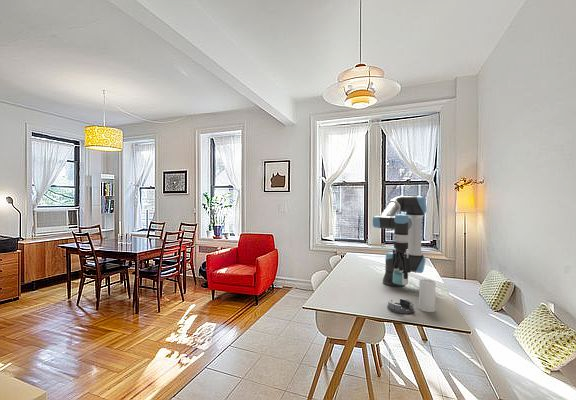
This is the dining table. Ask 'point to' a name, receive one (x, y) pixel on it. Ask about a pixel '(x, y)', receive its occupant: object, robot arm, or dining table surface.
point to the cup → (427, 295)
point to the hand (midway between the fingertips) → (400, 282)
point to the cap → (398, 277)
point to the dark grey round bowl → (401, 306)
